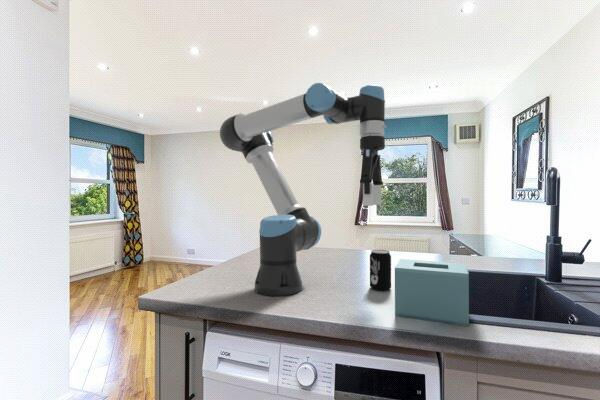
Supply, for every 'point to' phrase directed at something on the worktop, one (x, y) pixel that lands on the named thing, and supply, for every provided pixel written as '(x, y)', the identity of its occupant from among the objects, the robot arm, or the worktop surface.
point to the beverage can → (380, 270)
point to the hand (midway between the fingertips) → (372, 205)
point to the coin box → (432, 291)
